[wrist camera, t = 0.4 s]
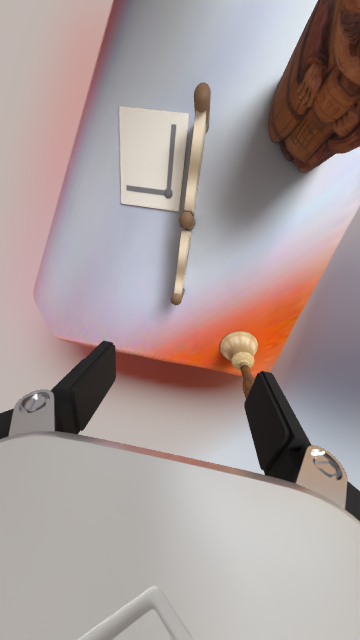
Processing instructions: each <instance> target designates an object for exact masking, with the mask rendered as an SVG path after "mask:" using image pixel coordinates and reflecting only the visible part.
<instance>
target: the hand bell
mask: <svg viewBox="0 0 360 640" xmlns="http://www.w3.org/2000/svg"><path fill="white" fill-rule="evenodd" d="M257 348H258V343H257V340H256V338H255V337H254V336H253V335H251V334H250V333H247V332H244V331H236V332H232V333H230V334H228V335H226V336H225V337H224V338H223V340H222V341H221V344H220V351H221V353H222V355H223V356H224V357H225V358H226V359H228V360H230V361H231V363H232V365H233V366H234V367H235V368H237V369H239V370H241V372H242V375H243V391H244V394H245V397H246V398H247V396H248V394H249V392H250V389H251V387H252V385H253V383H254V380H255V379H254V378H253V377H252V375H251V371H250V367H252V365H253V364H254V355H255V353H256V351H257Z"/></svg>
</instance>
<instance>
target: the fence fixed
mask: <svg viewBox="0 0 360 640" xmlns="http://www.w3.org/2000/svg"><path fill="white" fill-rule="evenodd" d="M210 95H211V92H210V88H209V86H208V84H206V83H200V84H199V85H198V86H197V87H196V89H195V92H194V104H195V123H194V131H193V139H192V148H191V156H190V165H189V173H188V181H187V190H186V198H185V207H184V210H185V212H184V213H182V214H181V216H180V218H179V222H180V225H181V226H182V227H183V228H185V229H187V230H191V229H193V228H194V226H195V220H194V218H193V216H192V215H194V211H195V204H196V197H197V190H198V183H199V176H200V169H201V162H202V155H203V148H204V141H205V134H206V133H207V131H208V128H209V112H210Z"/></svg>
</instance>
